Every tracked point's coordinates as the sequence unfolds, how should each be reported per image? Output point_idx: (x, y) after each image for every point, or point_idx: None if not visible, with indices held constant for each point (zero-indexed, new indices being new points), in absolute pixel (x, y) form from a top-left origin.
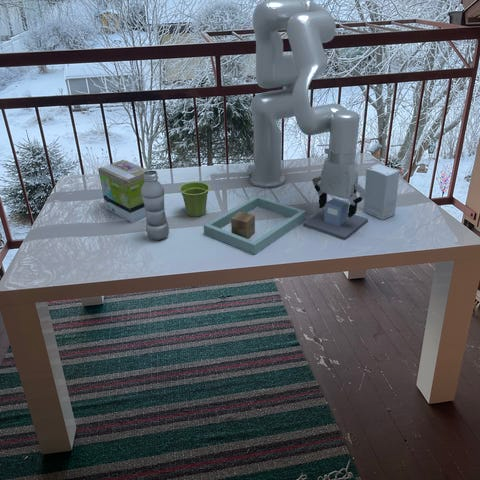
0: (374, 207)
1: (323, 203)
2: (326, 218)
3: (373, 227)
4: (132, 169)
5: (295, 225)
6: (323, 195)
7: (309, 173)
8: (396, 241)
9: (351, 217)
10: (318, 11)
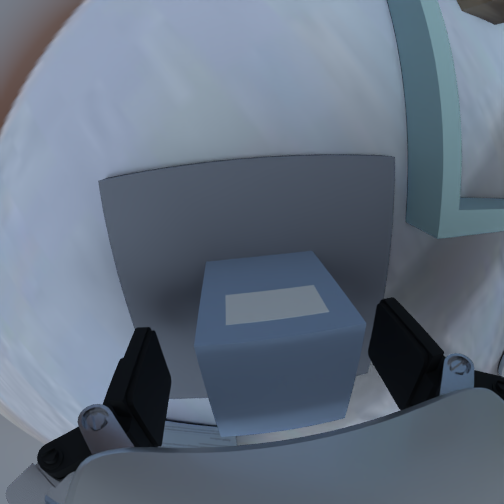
0: None
1: (386, 340)
2: (304, 262)
3: (116, 365)
4: None
5: (411, 123)
6: (421, 382)
7: None
8: (10, 320)
9: None
10: None
